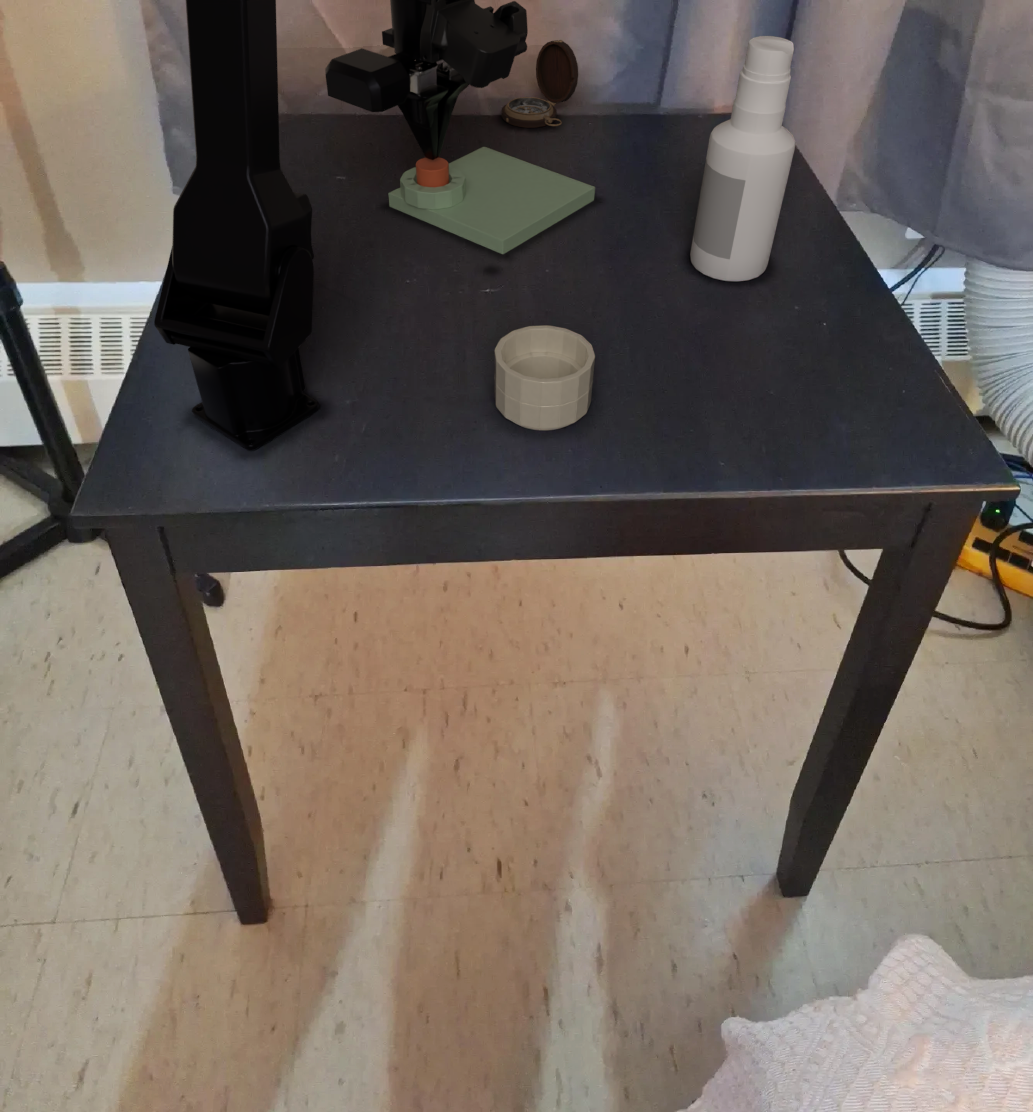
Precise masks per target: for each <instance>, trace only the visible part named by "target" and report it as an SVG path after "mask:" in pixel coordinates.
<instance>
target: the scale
mask: <svg viewBox="0 0 1033 1112" xmlns="http://www.w3.org/2000/svg"><path fill="white" fill-rule="evenodd" d="M448 164H449V183H448V184H446V185H444V186H441V187H424V186H421V185H419V184H417V177H416V166H414V167H412V168H410V169H408V170H406V171H404V172H403V173H402V175H401V177H400V179H399V186H400V187H398V188H396V189H394V190H392V191H389V192H388V206H389V208H392V209H394V210H396V211H399V212H402V213H403V214H406V215H409V216H411V217H413V218H416V219H418V220H420V221H422V222H425V223H428V224H429V225H433V226H434V227H437V228H439V229H441V230H444V231H446V232H448V233H451V234H454V235H456V236H458V237H461V238H462V239H465V240H468V241H470V242H472V243H474V244H477V245H480V246H482V247H485V248H486V249H489V250H491V251H494V252H496V253H499V254H501V255H505V254H506V253H508V252H510V251H511V250H513V249H515V248H517V247H518V246H520V245H522V244H523V243H525V242H527V241H528V240H530V239H531V238H533V237H535V236H536V235H538V234H540V233H541V232H543V231H545V230H547V229H548V228H550V227H552V226H553V225H555V224H557V223H559V222H560V221H562V220H564V219H565V218H567V217H568V216H570V215H572V214H574V213H576V212H577V211H578V210H580V209H582V208H584V207H585V206H587V205H589V204H591V203H592V202H594V201H595V196H596V195H595V193H596V187H595V186H593V185H590V184H588V183H586V182H582V181H581V180H577V179H574V178H571V177H569V176H566V175H563V174H561V173H557V172H555V171H553V170H550V169H547V168H545V167H541V166H539V165H537V164H533V163H530V162H527V161H525V160H522V159H520V158H517V157H514V156H511V155H508V154H506V153H503V152H500V151H498V150H495V149H492V148H489V147H486V146H482V147H480V148H478V149H476V150H474V151H471V152H470V153H468V154H465V155H463V156H461V157H460V158H457V159H455V160H453V161H451V162H448Z"/></svg>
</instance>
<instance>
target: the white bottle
mask: <svg viewBox="0 0 1033 1112" xmlns="http://www.w3.org/2000/svg"><path fill="white" fill-rule="evenodd" d="M794 47H795V45H794V42H793V41H791V40H789V39H787V38H784V37H780V36H773V35H760V36H759V35H758V36H754V37H753V38H750V39H749V41H748V43H747V47H746V48H747V49H746V54H745V60H744V63H743V66H742V69H741V70H740V71H739V76H738V82H737V86H736V87H737V88H736V93H735V97H734V100H733V104H732V109H731V114H730V118H729V119H727V120H725V121H722V122H721V123H719V124H717V125H716V126H714V128H713V129H712V131H711V132H710V134H709V139H708V145H707V149H706V150H707V152H706V157H705V161H704V169H703V174H702V180H701V187H700V192H699V199H698V204H697V211H696V217H695V221H694V222H695V223H694V230H693V234H692V241H691V247H690V254H689V256H690V263H691V264H692V266H693V267H694V268H695V270H696V271H698V272H700V273H701V274H702V275H705V276H707V277H709V278H712V279H715V280H720V281H725V282H744V281H750V280H754V279H756V278H758V277H760V276H761V275H762V274H763V273H764V272H765V271H766V270H767V267H768V265H769V260H770V255H771V252H772V248H773V243H774V240H775V236H776V235H775V234H776V230H777V226H778V223H779V218H780V213H781V210H782V205H783V201H784V197H785V193H786V188H787V183H788V179H789V175H790V170H791V166H792V162H793V157H794V154H795V149H796V140H795V137H794V135H793V133H792V132H790V131H789V130H788V129H787V128H786V127H785V126H784V125H783V122H784V119H785V118H784V117H785V112H786V109H787V105H786V103H787V100H788V99H787V98H788V94H789V89H790V85H791V79H792V76H791V71H792V69H791V65H792V60H793V56H794V51H795V49H794Z"/></svg>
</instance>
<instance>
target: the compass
mask: <svg viewBox="0 0 1033 1112" xmlns="http://www.w3.org/2000/svg"><path fill="white" fill-rule="evenodd" d="M535 63H536V64H535V78H536V81H537V86H538V88H539V91H540V93H541V95H543V97H544V99H543V98H540V97H536V96H535V97H534V96H521V97H516V98H512V99H511V100H509V102H507V103H506V104H504V105H503V106H502V107H501V118H502V120H503V121H504V122H505V123H508V124H509V125H511V126H513V127H518V128H523V129H524V128H525V129H537V128H542V127H546V126H550V127H559V126H560V125H562V124H563V122H562V120H561V119H559V118H557V115H558V113H557V111H558V110H557V109H556V107H555V106H556V104H557V105H558V104H560V103H565V102H567V101H568V100H570V99H571V98H572V96H573V95H574V93H575V91H576V89H577V86H578V80H579V65H578V60H577V57H576V55H575V53H574V50H573V49H572V47H570V45H569V44H568V43H567V42H565V41H564V40H563V39H559V40H558V39H557V40H551V41H547V42H546V43H545V44H544V45H542V46H541V49H540V50H539V52H538V54H537V57H536V62H535ZM545 99H546V100H545ZM555 121H558V122H560V123H556V124H553V123H554V122H555Z"/></svg>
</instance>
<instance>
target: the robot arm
mask: <svg viewBox="0 0 1033 1112" xmlns="http://www.w3.org/2000/svg"><path fill="white" fill-rule="evenodd" d="M389 6H390V18H391V19H390V20H391V28H388V29H385V30H382V31H381V40H382V41H381V42H382V45H383V46H385V47H389V48H392V49H394V54H392V55H389V56H386V55H384V54H380V53H378V52H374V51H372V50H368V49H365V48H359V49H356V50H353V51H350V52H348V53H345V54H342V55H339V56H337V57H334V58H331V60H330V61H329V62H328V64H327V66H326V67H325V68H324V70H325V71H324V72H325V74H324V75H325V82H326V90H327V97H330V98H333V99H336V100H338V101H341V102H343V103H346V104H350V105H352V106H353V107H358V108H360V109H362V110H366V111H368V112H371V113H383V112H385V111H388V110H390V109H392V108H395V107H398V109H399V110H400V112H401V114H402V115H403V117H404V119H405V121H406V122H407V124H408V127H409V129H410V131H411V133H412V135H413V137H414V138H415V140H416V142H417V144H418V146H419V148H420V150H421V152H422V154H423V157H424V158H425V157H426V158H428V159H431V160H434V159H436V158H440V156H441V153H442V150H443V145H444V142H445V139H446V135H447V131H448V128H449V125H450V122H451V117H452V115H453V113H454V112H453V111H454V109H455V105H456V103H457V100H458V97H459V96H460V95H461V93H462V92H463V91H465V90H466V89H467V88H468V87H469V86H471V87H474V88H475V89H476V88H477V89H484V88H487V87H488V86H489V85H490V84H491V83H493V82H496V81H497V80H500V79H503V80H504V79H506V78H509V76H510V74H511V71H512V68H513V64H514V61H515V57H518V56H519V55H521V54H523V53H526V52H527V50H528V44H527V42H526V40H527V38H528V34H529V33H528V31H529V30H528V29H529V28H528V13H527V9H526V8H525V7H524V6H522V5H521V4H520V3H519V2H517V1H515V0H513V1H509V2H507V3H503V4H501V5H500V6H498V8H497V9H496V10H495V8H494V7H493V6H491V5H489V6H487V7H484V8H483V7H481V6H480V5H478V4H477V3H476V0H389ZM185 10H186V11H185V12H186V24H187V25H186V27H187V39H188V40H187V42H188V55H189V57H188V58H189V71H190V87H191V101H192V116H193V117H192V118H193V132H194V147H195V148H194V149H195V167H194V168H193V171H192V172H191V175H190V176H189V178H188V180H187V181H186V183H185V184H184V185H185V186H184V187H183V189H182V191H181V193H180V195H179V197H178V198H177V200H176V202H175V204H174V205H173V209H172V210H173V211H172V242H171V243H172V245H171V250H170V254H169V258H168V262H167V266H166V270H165V274H164V278H163V283H162V287H161V291H160V296H159V299H158V304H157V308H156V312H155V316H154V320H153V321H154V324H153V325H154V327H155V328H156V330H157V332H158V333H159V334H160V336H161V338H162V339H163V340H164V342H165V343H166V344H169V345H172V346H173V345H180V346H184V347H188V348H187V352H188V356H189V360H190V363H191V367H192V370H193V374H194V377H195V378H194V379H195V381H196V385H197V389H198V393H199V396H200V400H201V402H200V403H197V404H196V405H194V407H192V409H191V412H192V415H193V417H194V418H196V419H197V420H199V421H200V422H202V423H204V425H205V424H206V425H207V426H208V427H210V428H212V429H213V430H214V431H216V432H218V433H220V434H221V435H223V436H224V437H225V438H227V439H229V440H230V441H232V442H234V443H235V444H237V445H239V446H240V447H241V448H243V449H245V450H247V451H255V450H257V449H258V448H260V447H262V446H264V445H265V444H267V443H268V442H269V441H271V440H273V439H274V438H276V437H277V436H279V435H281V434H282V433H284V432H285V431H287V430H289V429H290V428H291V427H293V426H295V425H297V424H298V423H300V422H301V421H303V420H304V419H306V418H307V417H309V416H311V415H312V414H314V413H315V412H317V411H318V410H319V403H318V401H317V400H316V399H314V398H313V397H311V396H309V395H307V394H305V393H304V391H305V390H306V381H305V374H304V368H303V363H302V358H301V352H300V347H301V346H302V345H303V343H305V341H306V340H307V339H308V338H309V337H310V336H311V335H312V332H313V309H314V308H313V307H314V306H313V304H314V280H315V279H314V276H315V271H314V270H315V268H314V261H313V260H314V259H315V253H314V249H313V242H312V241H313V240H312V222H313V207H312V204H311V201H310V199H309V196H308V194H307V193H302V192H296V191H293V188H292V187H291V185H290V184H289V181H288V180H287V178H286V176H285V175H284V173H283V171H282V169H281V159H280V154H281V153H280V117H279V115H280V114H279V113H280V112H279V79H278V78H279V76H278V75H279V73H278V34H277V33H278V31H277V0H185ZM494 10H495V11H494Z"/></svg>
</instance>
